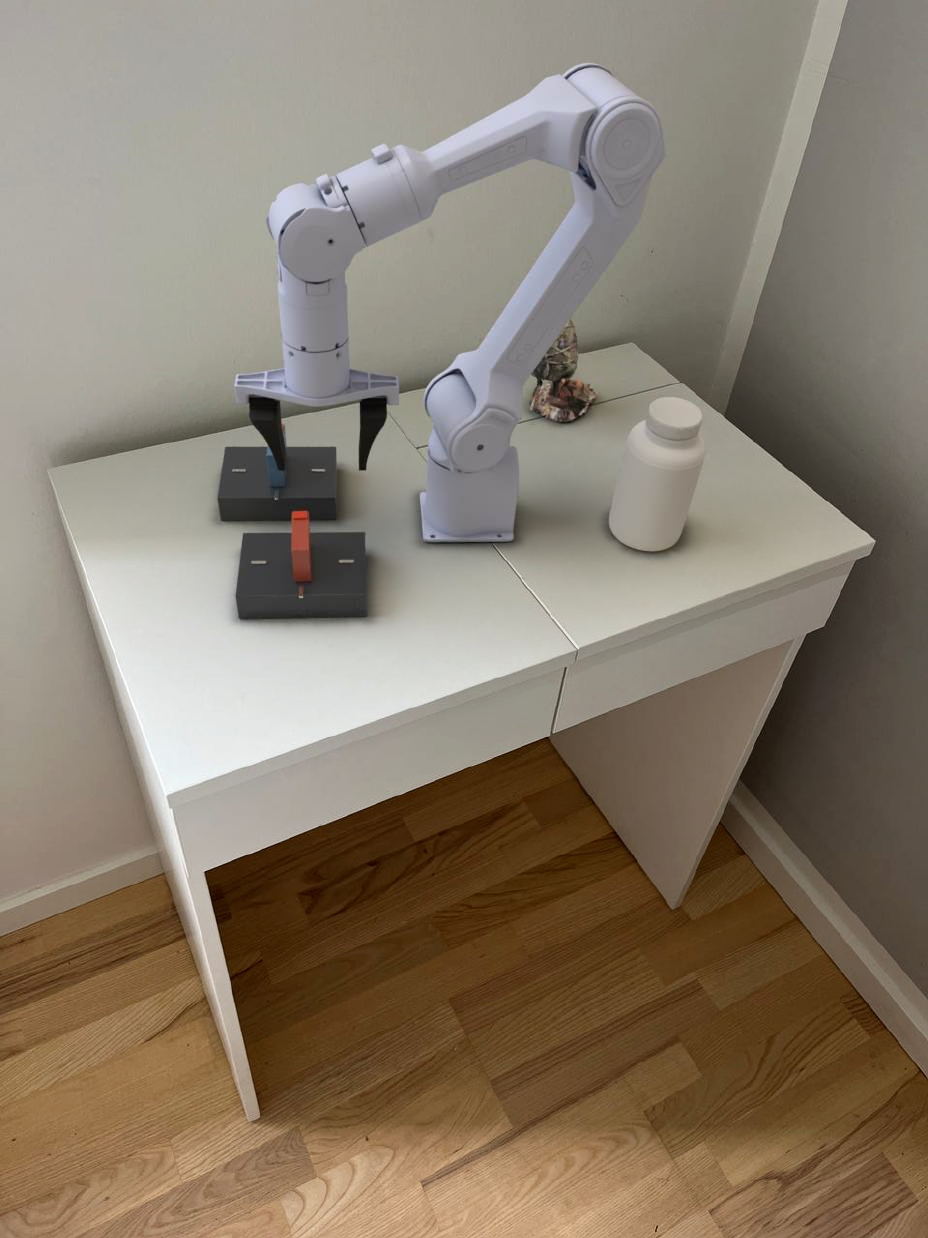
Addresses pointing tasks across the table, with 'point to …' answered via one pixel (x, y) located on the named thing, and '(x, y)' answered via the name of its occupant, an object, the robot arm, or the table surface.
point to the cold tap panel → (256, 500)
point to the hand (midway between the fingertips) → (322, 464)
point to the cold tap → (275, 475)
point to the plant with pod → (561, 380)
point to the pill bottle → (658, 476)
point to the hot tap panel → (326, 595)
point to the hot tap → (301, 546)
